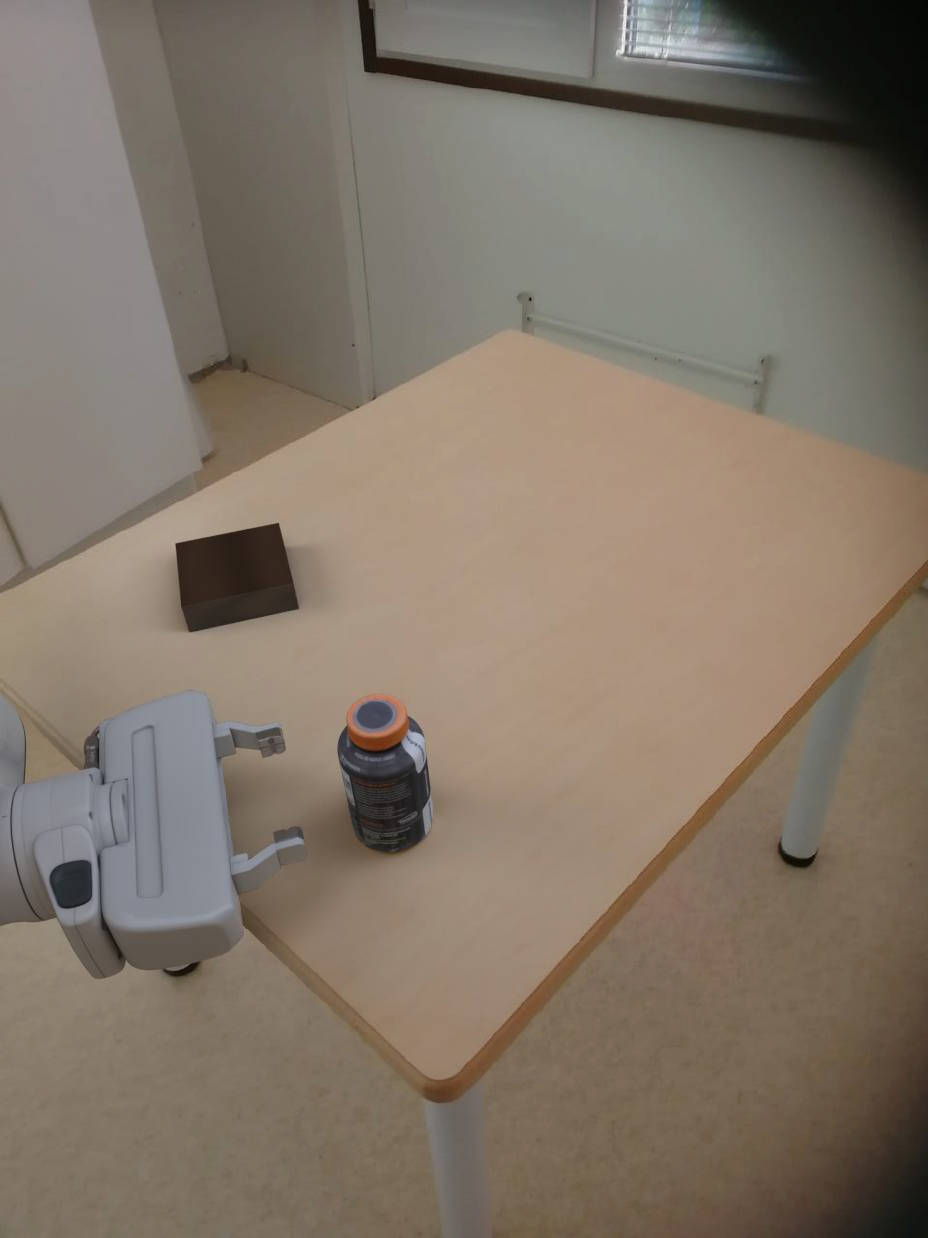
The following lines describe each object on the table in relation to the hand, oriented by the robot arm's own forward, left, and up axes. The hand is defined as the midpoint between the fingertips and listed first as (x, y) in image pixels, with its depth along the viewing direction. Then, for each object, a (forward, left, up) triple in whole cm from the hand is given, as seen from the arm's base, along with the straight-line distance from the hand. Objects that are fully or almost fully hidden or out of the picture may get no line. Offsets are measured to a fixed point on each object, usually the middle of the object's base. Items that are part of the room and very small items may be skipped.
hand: (293, 786), depth 65 cm
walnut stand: (-2, +31, -6) cm, 31 cm away
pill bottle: (+6, 0, -6) cm, 9 cm away
